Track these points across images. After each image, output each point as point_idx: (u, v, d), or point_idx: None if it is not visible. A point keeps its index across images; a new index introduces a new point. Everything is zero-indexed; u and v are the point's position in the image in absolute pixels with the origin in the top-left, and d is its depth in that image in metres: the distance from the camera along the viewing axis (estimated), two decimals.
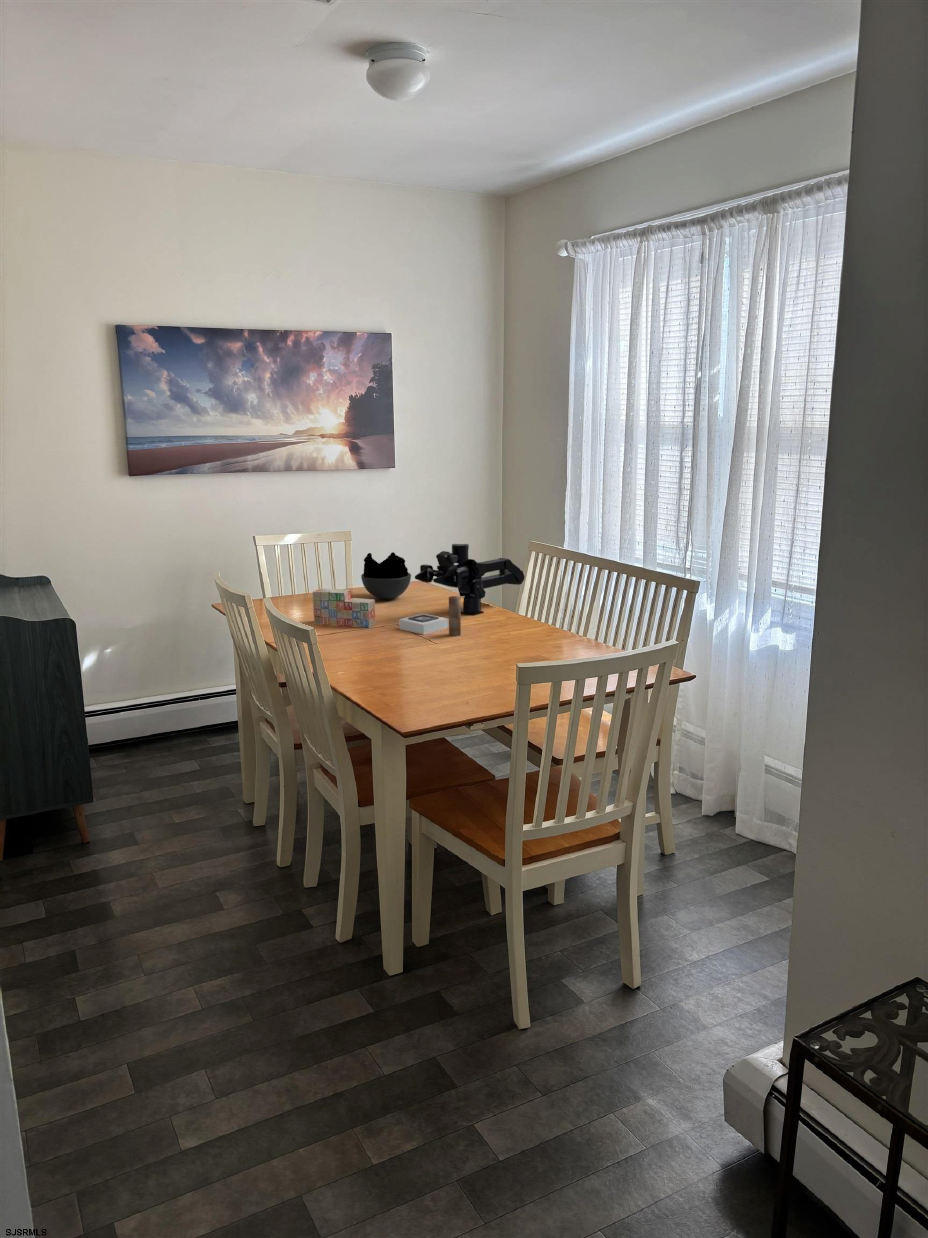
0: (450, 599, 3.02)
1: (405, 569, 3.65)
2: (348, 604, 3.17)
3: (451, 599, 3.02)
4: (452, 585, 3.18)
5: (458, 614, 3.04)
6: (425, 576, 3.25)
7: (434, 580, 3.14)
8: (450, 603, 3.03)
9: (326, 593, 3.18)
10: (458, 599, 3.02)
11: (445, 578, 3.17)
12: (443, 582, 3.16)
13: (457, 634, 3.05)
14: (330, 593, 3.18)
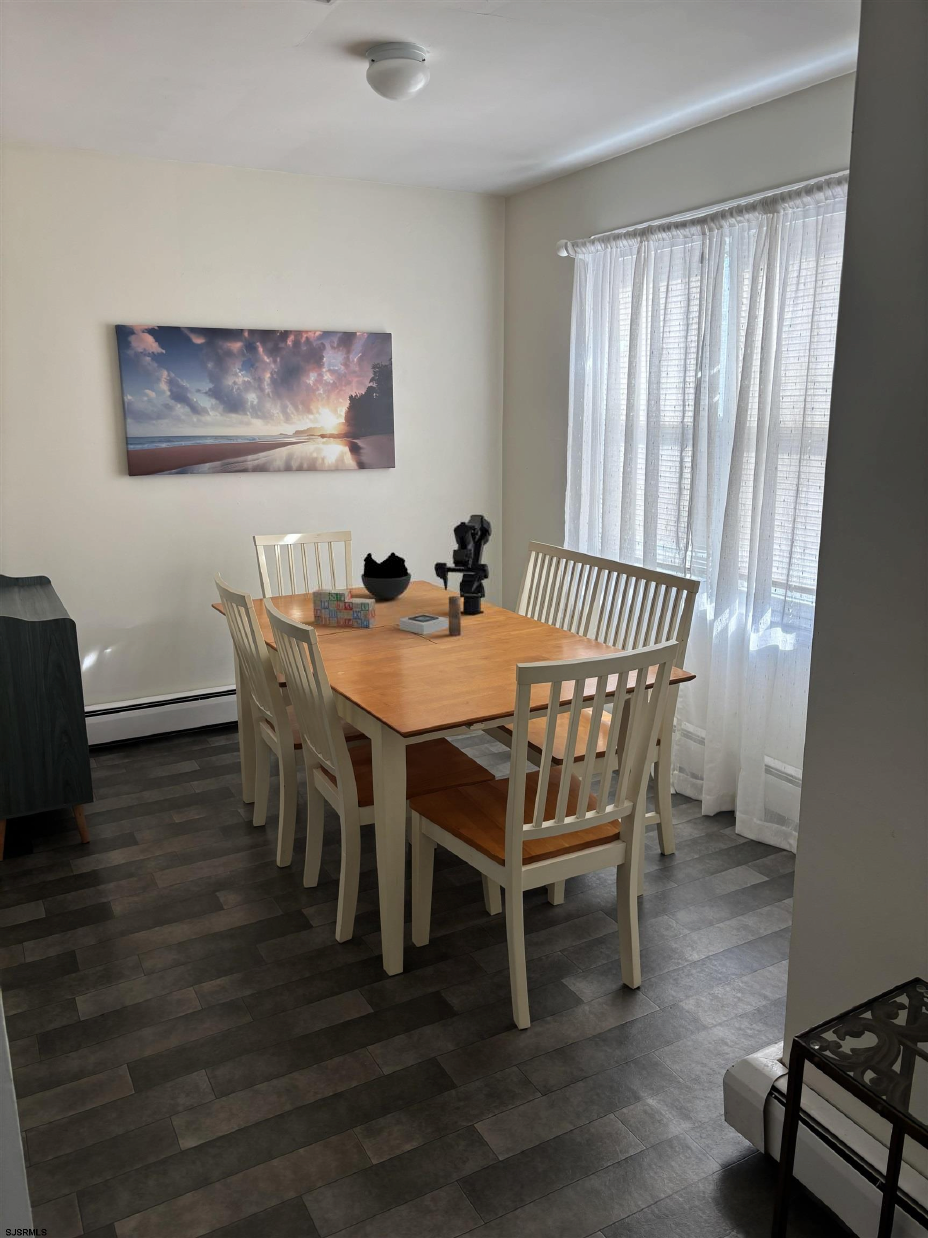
0: (450, 599, 3.02)
1: (405, 569, 3.65)
2: (348, 604, 3.17)
3: (451, 599, 3.02)
4: (483, 579, 3.15)
5: (458, 614, 3.04)
6: (447, 577, 3.16)
7: (472, 590, 3.11)
8: (450, 603, 3.03)
9: (326, 593, 3.18)
10: (458, 599, 3.02)
11: (476, 579, 3.13)
12: (476, 583, 3.13)
13: (457, 634, 3.05)
14: (330, 593, 3.17)
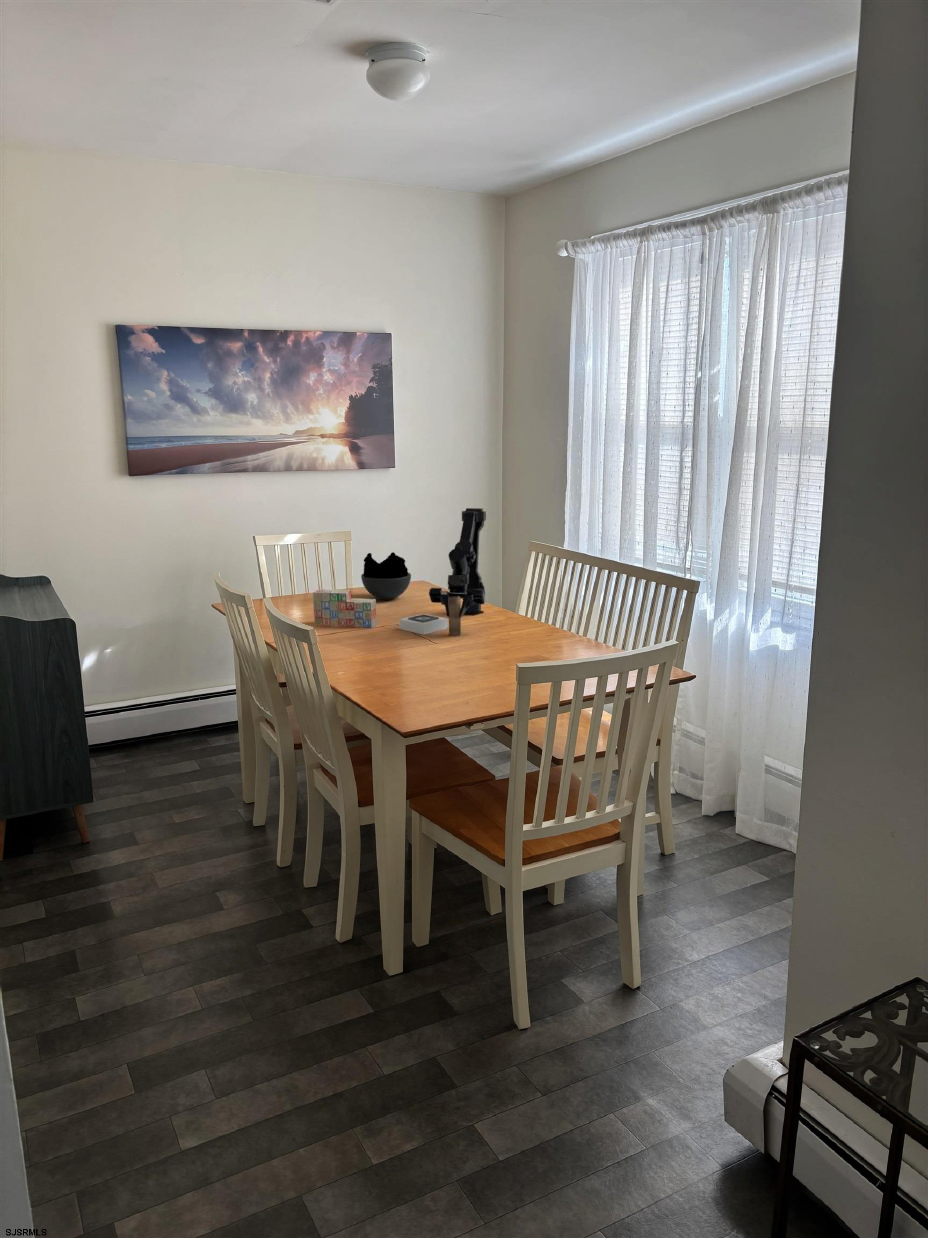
0: (450, 599, 3.02)
1: (405, 569, 3.65)
2: (350, 605, 3.16)
3: (451, 599, 3.02)
4: (472, 604, 3.08)
5: (458, 614, 3.04)
6: None
7: (460, 616, 3.04)
8: (450, 603, 3.03)
9: (327, 594, 3.17)
10: (458, 599, 3.02)
11: None
12: (465, 609, 3.06)
13: (457, 634, 3.05)
14: (331, 594, 3.17)
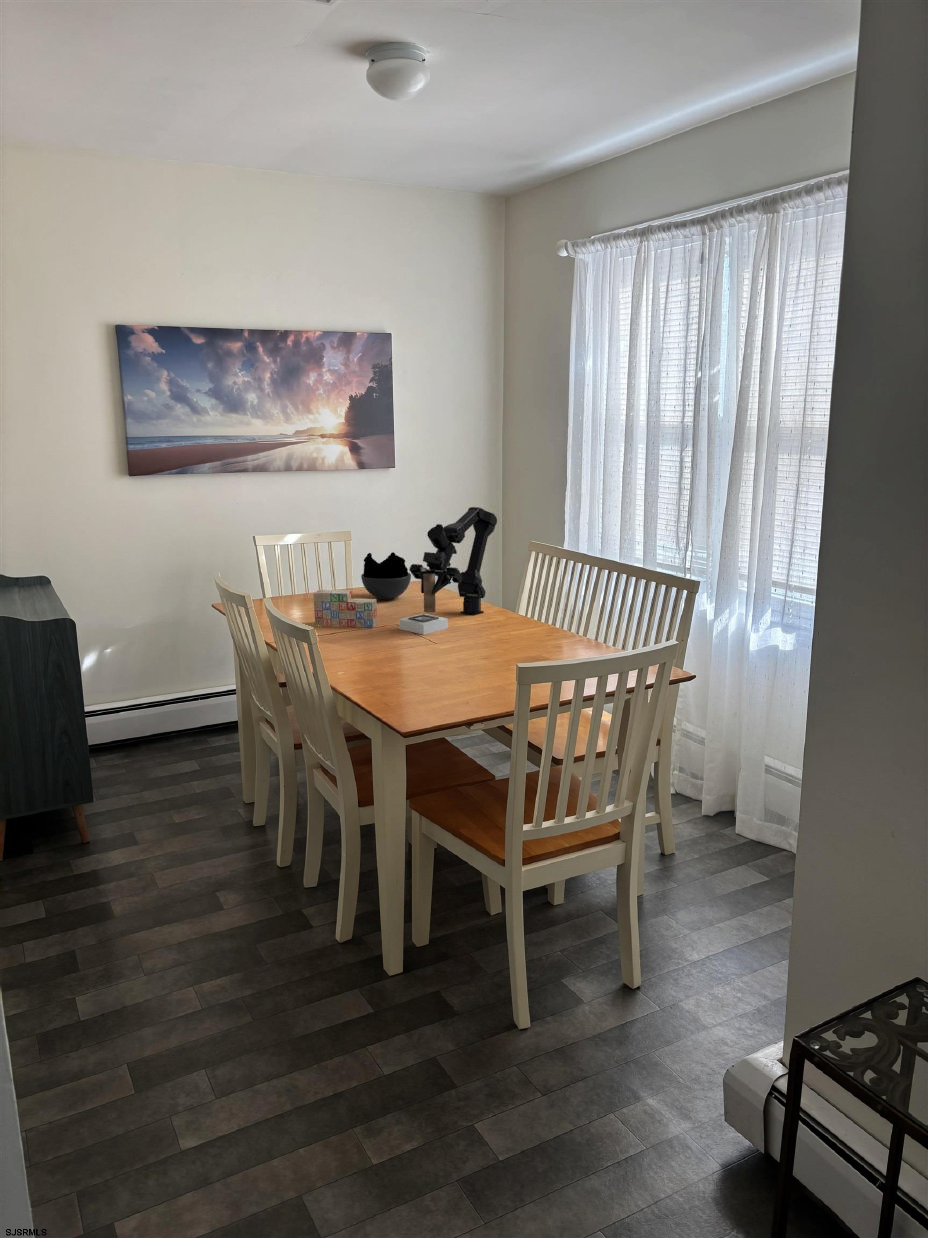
0: (424, 576, 3.07)
1: (405, 569, 3.65)
2: (351, 605, 3.16)
3: (424, 576, 3.07)
4: (449, 583, 3.11)
5: (431, 591, 3.08)
6: None
7: (433, 593, 3.08)
8: (424, 580, 3.08)
9: (328, 594, 3.16)
10: (431, 576, 3.07)
11: (440, 582, 3.09)
12: (440, 587, 3.09)
13: (430, 611, 3.09)
14: (332, 594, 3.16)
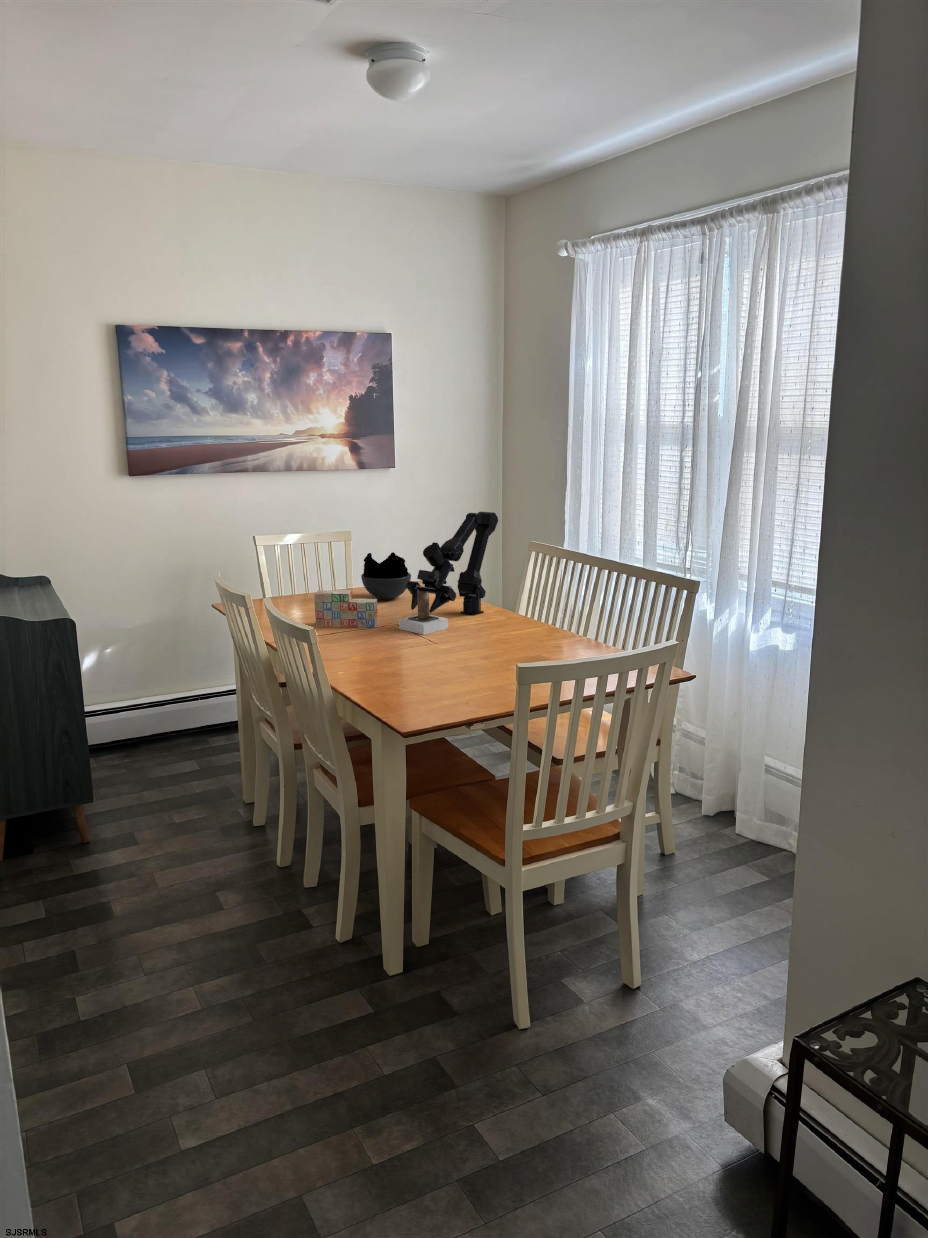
0: (417, 593, 3.12)
1: (405, 569, 3.65)
2: (353, 605, 3.16)
3: (418, 594, 3.11)
4: (447, 601, 3.13)
5: (424, 609, 3.12)
6: None
7: (430, 611, 3.10)
8: (417, 597, 3.12)
9: (329, 594, 3.16)
10: (424, 594, 3.10)
11: (438, 601, 3.11)
12: (438, 605, 3.12)
13: None
14: (333, 594, 3.15)
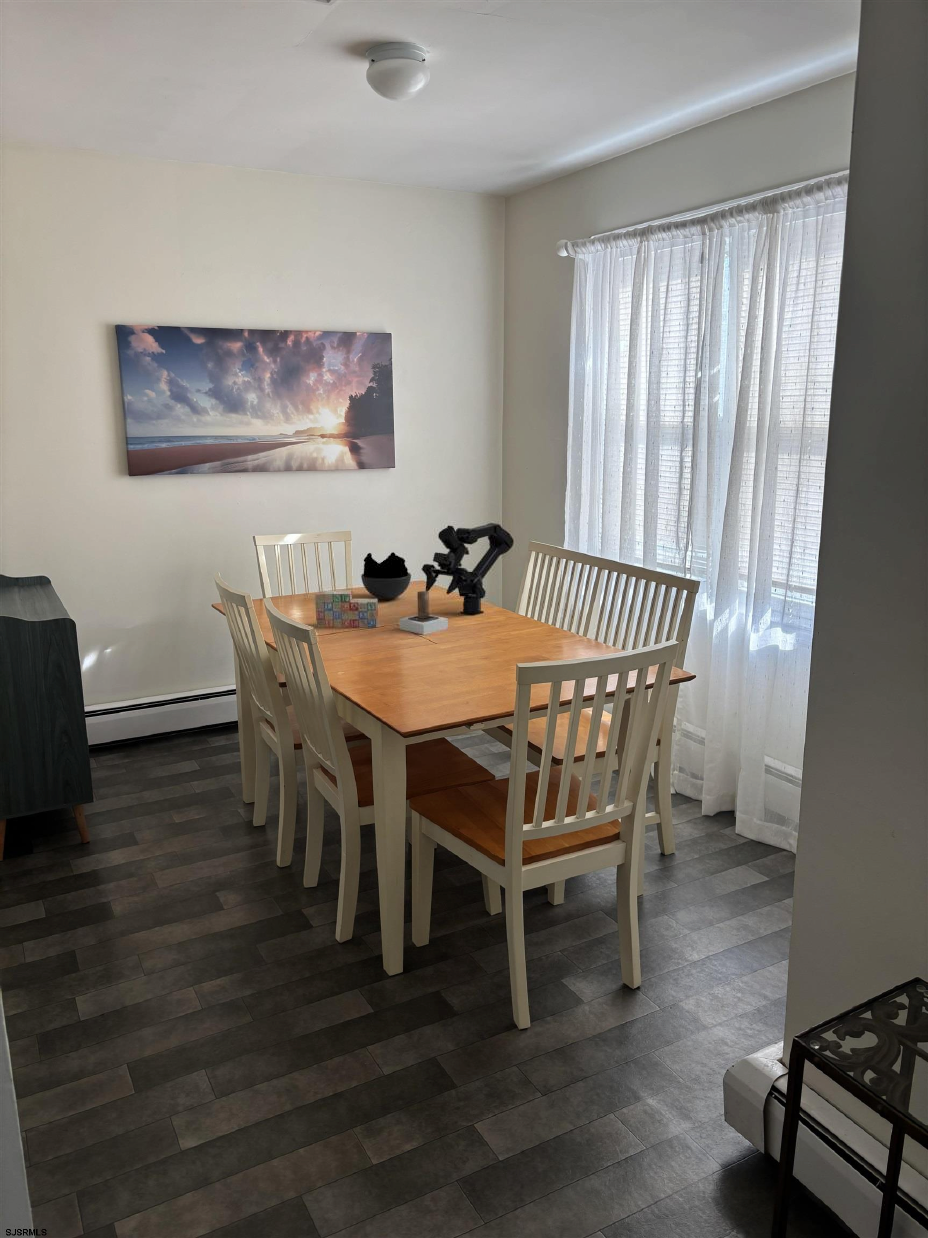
0: (417, 594, 3.12)
1: (405, 569, 3.65)
2: (354, 605, 3.16)
3: (418, 594, 3.11)
4: (464, 583, 3.19)
5: (424, 609, 3.12)
6: (432, 579, 3.24)
7: (447, 593, 3.16)
8: (417, 597, 3.12)
9: (330, 595, 3.15)
10: (424, 594, 3.10)
11: (455, 583, 3.18)
12: (455, 587, 3.18)
13: None
14: (334, 595, 3.15)
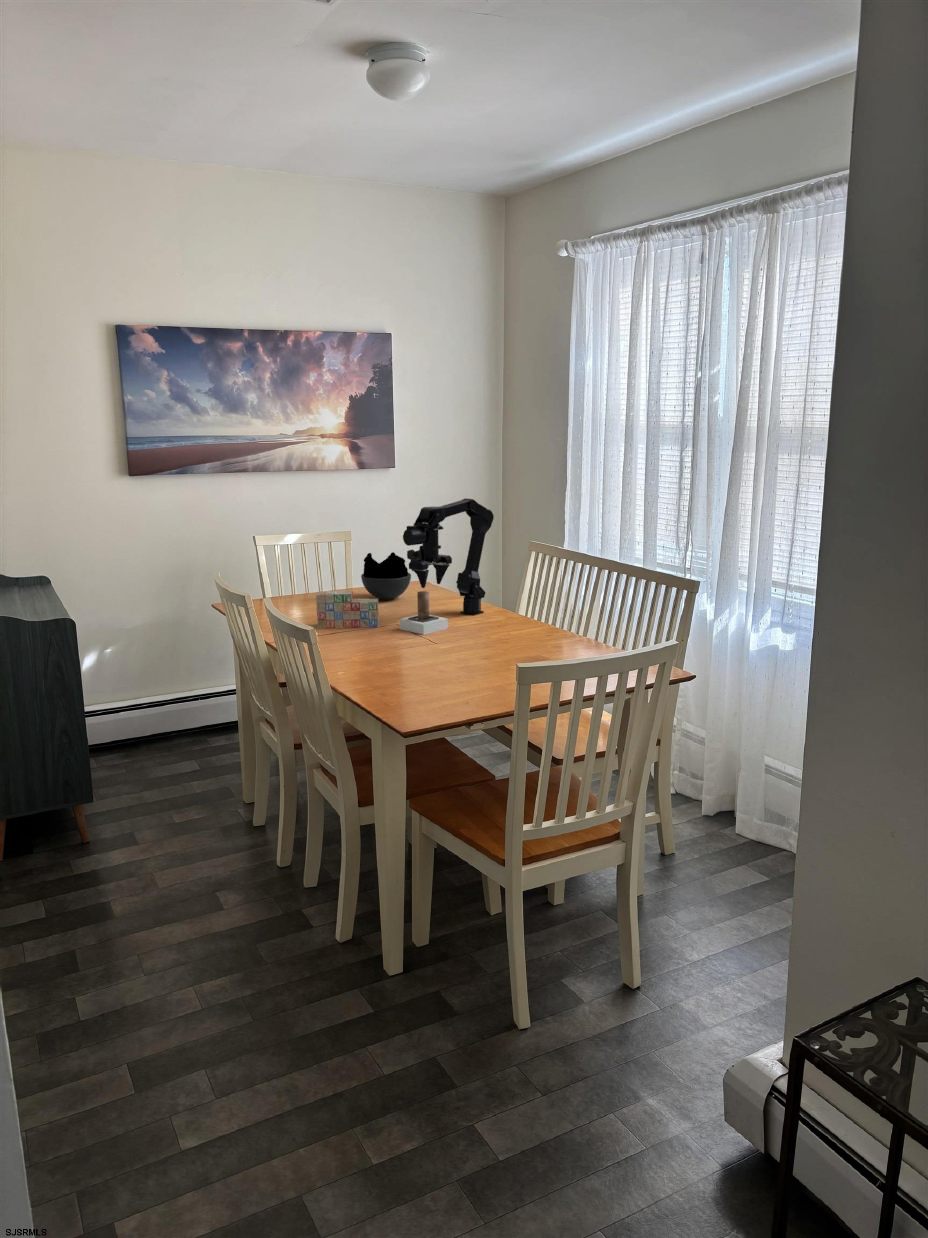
0: (417, 594, 3.12)
1: (405, 569, 3.65)
2: (355, 605, 3.15)
3: (418, 594, 3.11)
4: (423, 571, 3.14)
5: (424, 609, 3.12)
6: (440, 568, 3.26)
7: (422, 587, 3.19)
8: None
9: (331, 595, 3.14)
10: (424, 594, 3.10)
11: (420, 575, 3.18)
12: (423, 578, 3.17)
13: None
14: (336, 595, 3.14)
